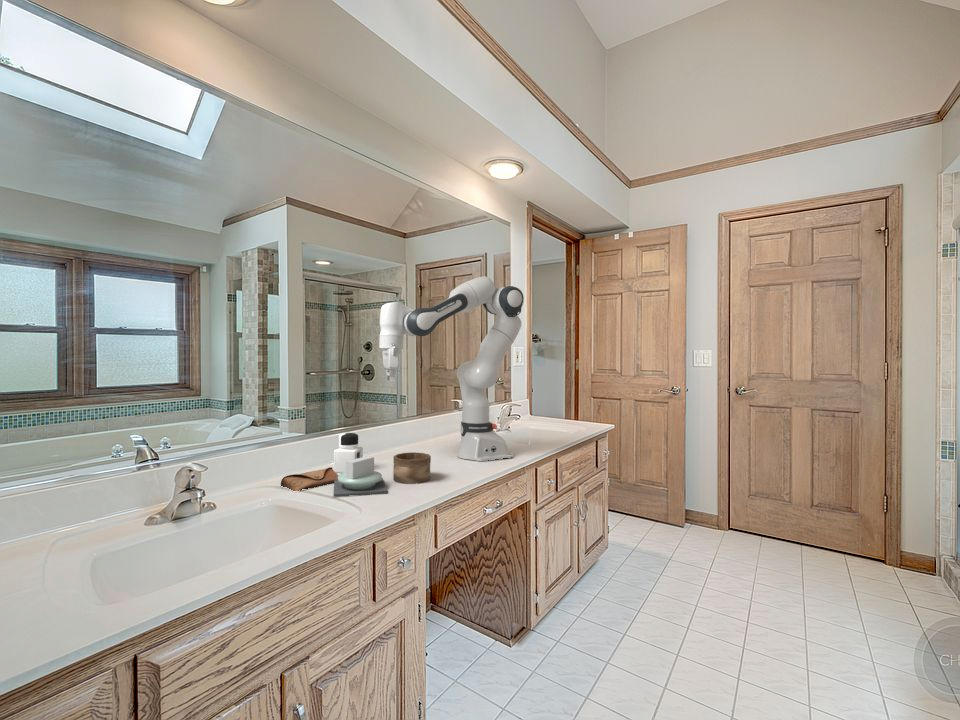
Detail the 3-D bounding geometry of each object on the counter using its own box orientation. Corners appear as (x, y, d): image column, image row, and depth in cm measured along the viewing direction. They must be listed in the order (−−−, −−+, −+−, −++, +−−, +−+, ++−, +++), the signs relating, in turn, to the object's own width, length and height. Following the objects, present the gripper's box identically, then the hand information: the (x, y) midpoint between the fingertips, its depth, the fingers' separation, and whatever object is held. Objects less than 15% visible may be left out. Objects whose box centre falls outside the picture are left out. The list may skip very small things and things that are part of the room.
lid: (359, 477, 149) (360, 452, 149) (390, 483, 143) (391, 458, 143) (328, 486, 138) (328, 460, 138) (360, 494, 131) (361, 466, 131)
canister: (426, 473, 159) (426, 451, 159) (433, 482, 148) (433, 459, 148) (391, 475, 156) (391, 453, 156) (395, 484, 144) (395, 461, 144)
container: (362, 468, 165) (363, 432, 165) (354, 473, 157) (355, 435, 157) (341, 467, 165) (342, 431, 165) (333, 472, 158) (333, 435, 158)
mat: (382, 480, 149) (382, 477, 149) (386, 493, 135) (386, 490, 135) (334, 483, 145) (334, 480, 145) (333, 497, 131) (333, 494, 131)
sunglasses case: (295, 492, 134) (289, 471, 136) (284, 500, 138) (278, 479, 140) (347, 480, 148) (341, 461, 150) (335, 488, 152) (329, 469, 154)
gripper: (403, 343, 163) (402, 382, 163) (396, 344, 182) (396, 379, 183) (385, 343, 161) (384, 382, 161) (380, 344, 181) (379, 379, 181)
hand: (390, 381), depth 172 cm, fingers open, 8 cm apart
